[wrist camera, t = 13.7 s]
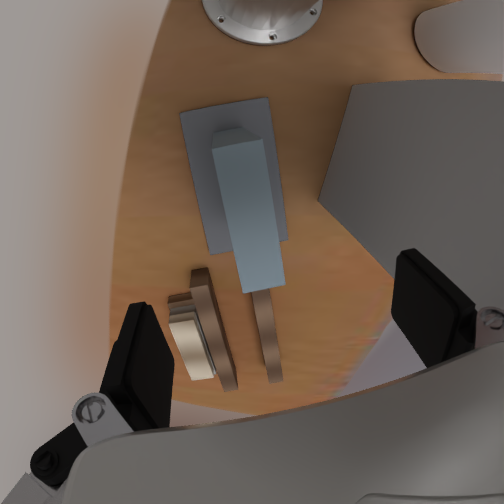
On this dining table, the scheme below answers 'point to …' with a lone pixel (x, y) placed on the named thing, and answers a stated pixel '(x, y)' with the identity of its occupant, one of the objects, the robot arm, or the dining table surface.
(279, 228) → the slate mat
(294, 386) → the dining table surface
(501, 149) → the grey tall flat block
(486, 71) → the alcohol
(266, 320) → the rack
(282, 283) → the blue grey brick
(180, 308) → the offcut stack
